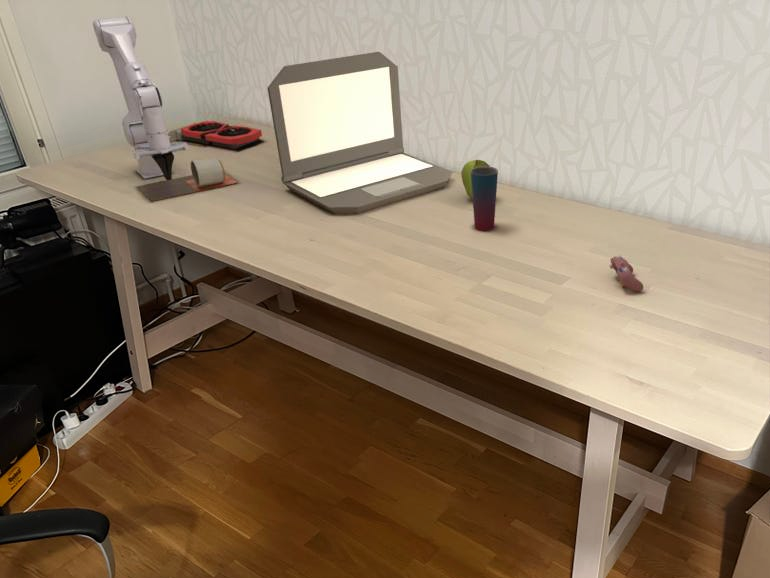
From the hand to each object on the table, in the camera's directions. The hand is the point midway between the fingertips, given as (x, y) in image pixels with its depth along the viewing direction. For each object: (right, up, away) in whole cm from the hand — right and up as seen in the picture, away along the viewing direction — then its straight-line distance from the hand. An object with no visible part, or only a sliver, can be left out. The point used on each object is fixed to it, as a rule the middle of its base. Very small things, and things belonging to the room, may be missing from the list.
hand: (168, 178), depth 201 cm
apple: (+90, -7, -5) cm, 90 cm away
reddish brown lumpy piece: (+123, -36, -48) cm, 137 cm away
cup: (+92, -18, -21) cm, 96 cm away
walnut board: (+3, 0, +6) cm, 7 cm away
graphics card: (-3, +24, +44) cm, 50 cm away
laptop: (+59, -1, +4) cm, 60 cm away
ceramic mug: (+9, 0, +7) cm, 11 cm away
